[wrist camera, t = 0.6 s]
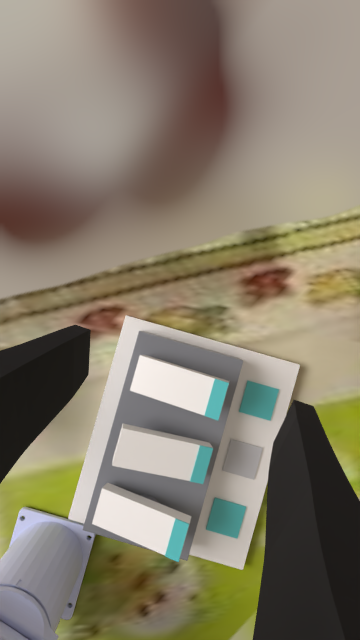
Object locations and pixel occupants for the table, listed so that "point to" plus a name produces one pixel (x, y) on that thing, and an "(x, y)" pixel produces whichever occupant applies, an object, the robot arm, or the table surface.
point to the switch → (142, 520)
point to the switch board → (231, 429)
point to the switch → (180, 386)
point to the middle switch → (162, 453)
